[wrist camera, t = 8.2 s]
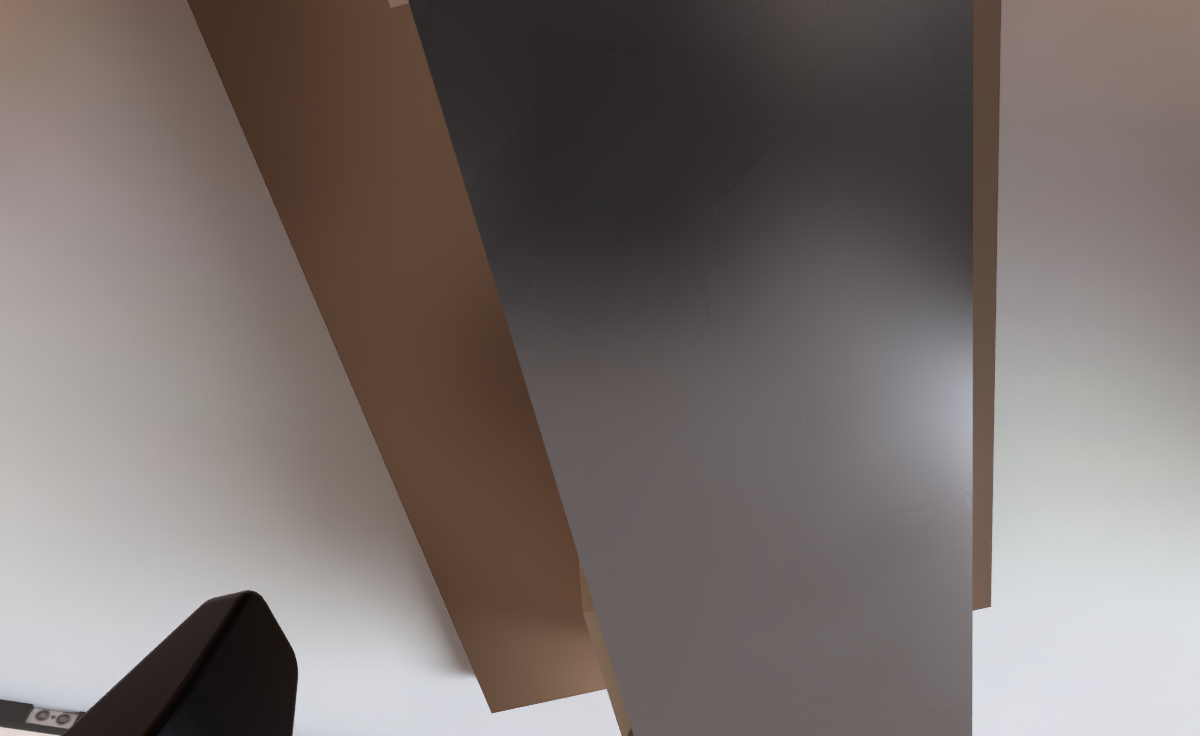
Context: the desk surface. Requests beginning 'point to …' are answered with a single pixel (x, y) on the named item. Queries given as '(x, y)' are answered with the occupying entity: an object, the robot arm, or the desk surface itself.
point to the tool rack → (473, 320)
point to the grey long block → (742, 337)
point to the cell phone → (33, 720)
